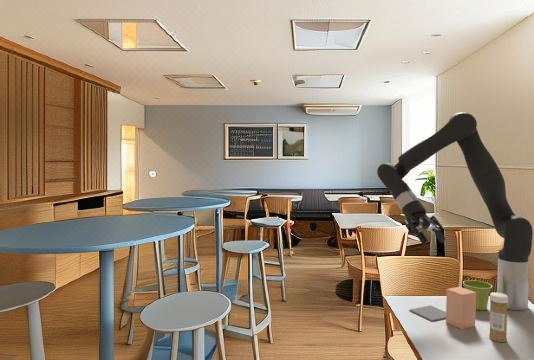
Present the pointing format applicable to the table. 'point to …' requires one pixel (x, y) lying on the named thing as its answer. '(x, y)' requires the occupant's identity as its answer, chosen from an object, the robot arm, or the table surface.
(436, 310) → the gray mat
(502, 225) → the robot arm
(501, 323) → the spice jar
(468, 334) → the table surface
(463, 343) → the table surface
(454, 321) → the tall peach pillar
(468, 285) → the plant pot
